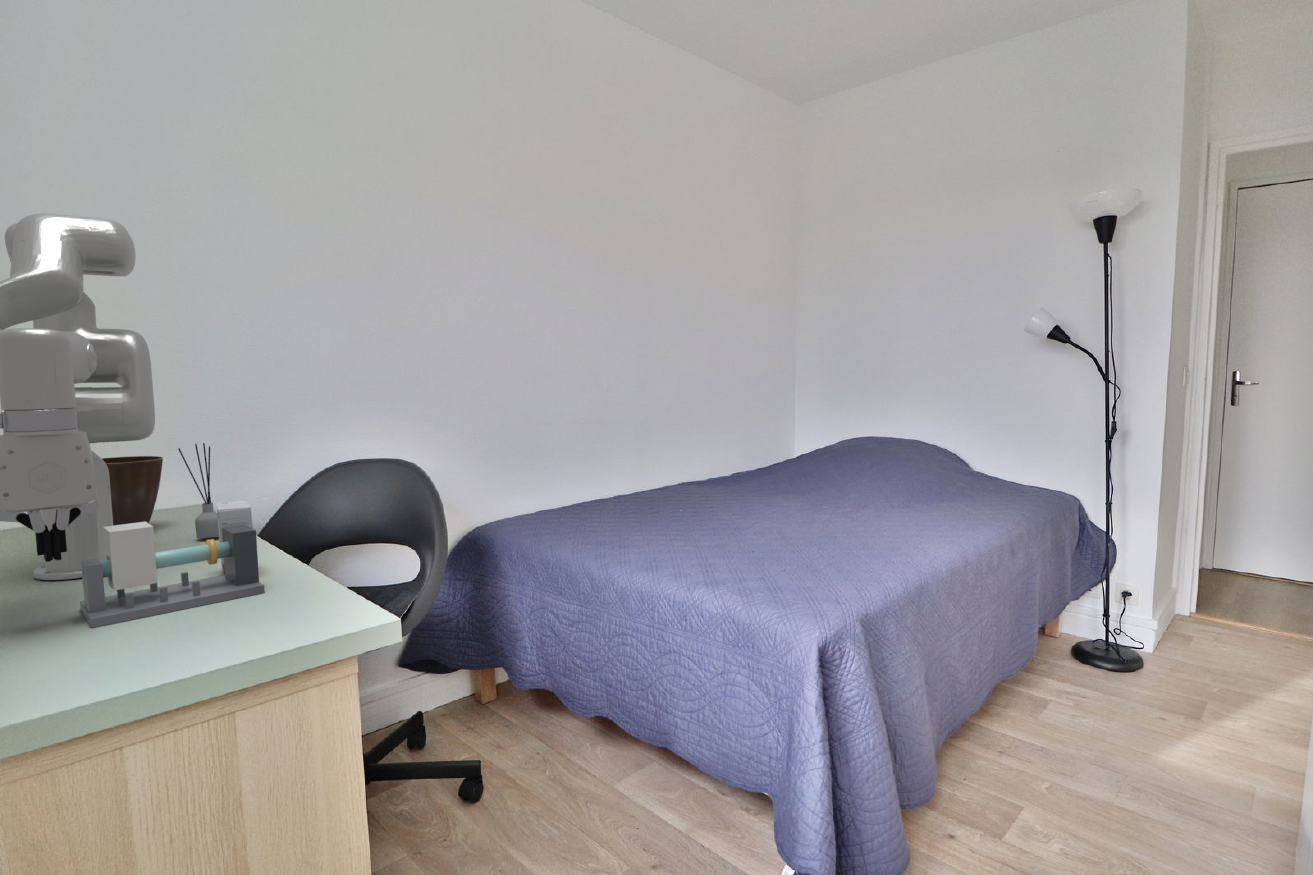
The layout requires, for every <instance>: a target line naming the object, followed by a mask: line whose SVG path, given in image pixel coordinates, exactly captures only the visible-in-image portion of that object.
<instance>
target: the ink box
mask: <svg viewBox="0 0 1313 875" xmlns="http://www.w3.org/2000/svg"><path fill="white" fill-rule="evenodd" d="M216 513H217V517H218V532H219V536H218V543H220V542H223V538H222V528H225V527H232V526H239V525H246V526H248V527H250V528H252V529H254V526H253V525H254V524H253V517H252V516H253V515H252V506H251V505H250V502H249V501H248V500H238V501H228V502H226V501H225V502H218V503H216ZM220 561H221V570H222V573H223V575H225V568H224V558H220Z"/></svg>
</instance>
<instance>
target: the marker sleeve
mask: <svg viewBox="0 0 1313 875" xmlns="http://www.w3.org/2000/svg"><path fill="white" fill-rule="evenodd" d="M103 529H104V541H105V554H106V560H109V559H110V561H111V574H112V576H110V577H106V578H107V584H108V585H109V586H110V588H111V589H112V590H113V591H117V590H120V589H124V590H125V589H129V588H131V589H132V588H136V587H141V586H142V587H143V586H147V585H150V584H154V583H157V584H158V576H157V575H158V573H157V572H158V571H157V569H156V558H155V552H156V547H155V546H156V545H155V536H154V535H155V532H154V526H153V525H152V524H150V522H149V523H147V522H138V523H130V524H122V525H114V526H106V527H103Z"/></svg>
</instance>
